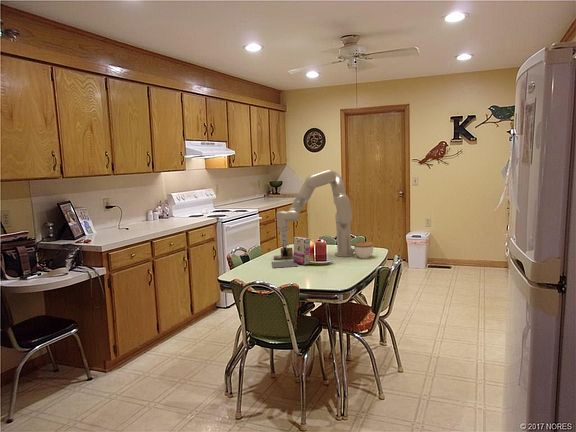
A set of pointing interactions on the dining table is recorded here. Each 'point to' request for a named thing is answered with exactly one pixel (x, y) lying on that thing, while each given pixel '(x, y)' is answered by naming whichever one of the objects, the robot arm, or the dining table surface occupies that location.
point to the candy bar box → (301, 250)
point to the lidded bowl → (363, 249)
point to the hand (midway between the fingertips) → (285, 255)
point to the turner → (290, 254)
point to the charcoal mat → (284, 264)
